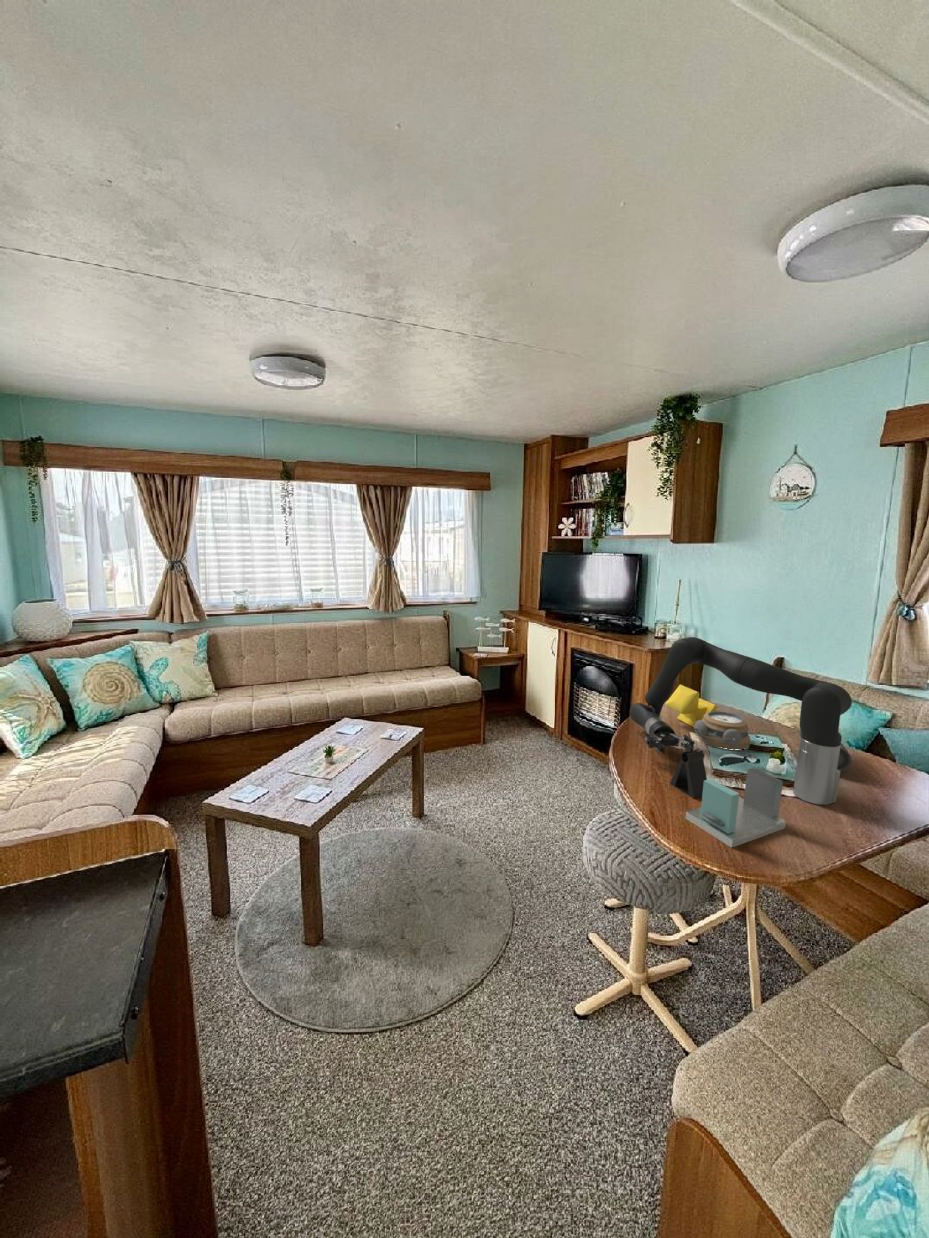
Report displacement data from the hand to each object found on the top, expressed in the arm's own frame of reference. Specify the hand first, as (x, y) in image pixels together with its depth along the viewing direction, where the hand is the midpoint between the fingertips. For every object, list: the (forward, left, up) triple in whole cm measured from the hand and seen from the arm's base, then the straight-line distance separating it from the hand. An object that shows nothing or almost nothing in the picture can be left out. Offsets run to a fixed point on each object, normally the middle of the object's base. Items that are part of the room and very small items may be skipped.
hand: (677, 751), depth 154 cm
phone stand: (0, +11, -7) cm, 13 cm away
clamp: (-26, -43, -8) cm, 50 cm away
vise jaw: (+2, +32, -5) cm, 33 cm away
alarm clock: (-25, -24, -7) cm, 36 cm away
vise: (-6, +28, -7) cm, 30 cm away
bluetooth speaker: (-53, -12, -7) cm, 55 cm away
